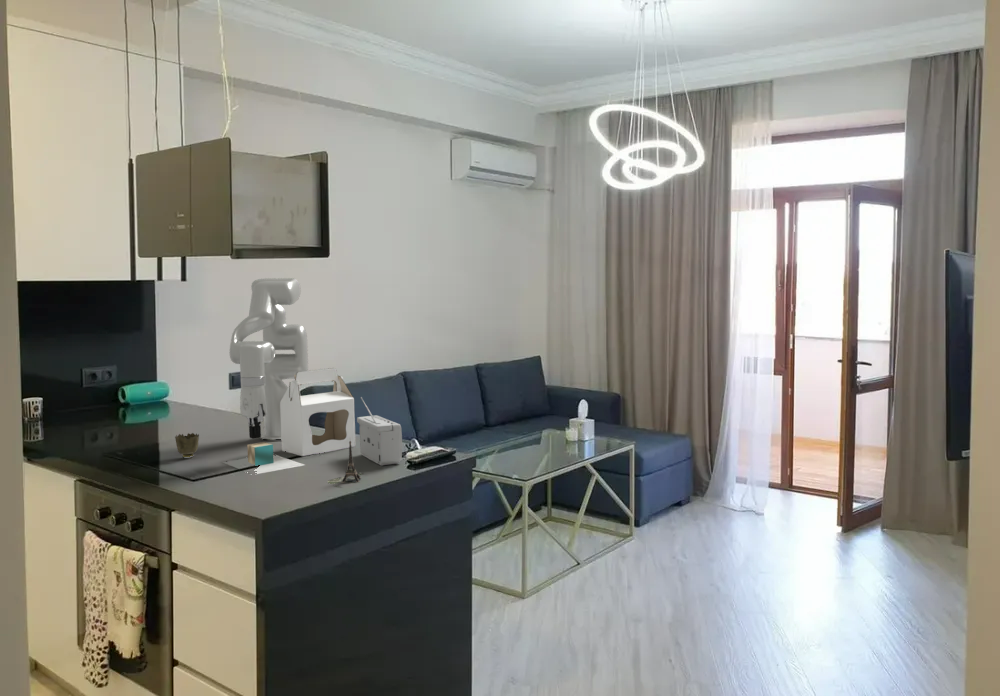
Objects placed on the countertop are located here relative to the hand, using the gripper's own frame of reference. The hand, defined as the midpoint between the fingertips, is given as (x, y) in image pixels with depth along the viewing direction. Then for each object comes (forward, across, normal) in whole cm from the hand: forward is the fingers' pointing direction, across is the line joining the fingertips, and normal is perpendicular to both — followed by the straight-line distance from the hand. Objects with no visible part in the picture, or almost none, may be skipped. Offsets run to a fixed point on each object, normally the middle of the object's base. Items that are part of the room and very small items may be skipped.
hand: (255, 437), depth 260 cm
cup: (+8, -21, -14) cm, 27 cm away
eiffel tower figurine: (+9, +42, +10) cm, 44 cm away
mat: (+8, +5, 0) cm, 9 cm away
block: (+5, +1, 0) cm, 5 cm away
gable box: (+8, -3, +25) cm, 26 cm away
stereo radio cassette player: (+8, +26, +31) cm, 41 cm away
